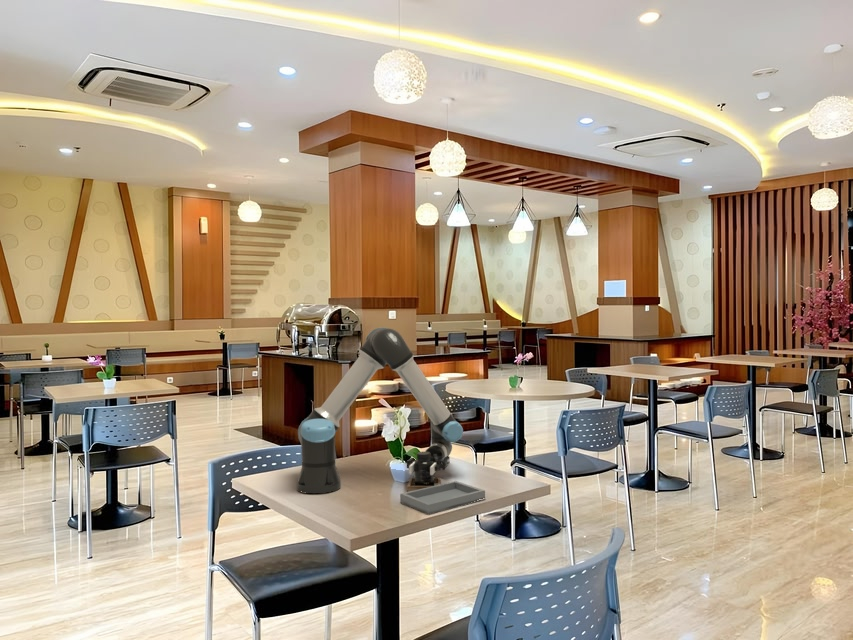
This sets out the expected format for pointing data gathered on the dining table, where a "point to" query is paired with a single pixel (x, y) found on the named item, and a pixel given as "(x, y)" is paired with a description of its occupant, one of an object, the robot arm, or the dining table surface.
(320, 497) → the dining table surface
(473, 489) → the parts tray
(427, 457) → the supplement bottle
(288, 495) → the dining table surface
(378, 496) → the dining table surface
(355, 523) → the dining table surface
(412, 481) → the square wooden tray
